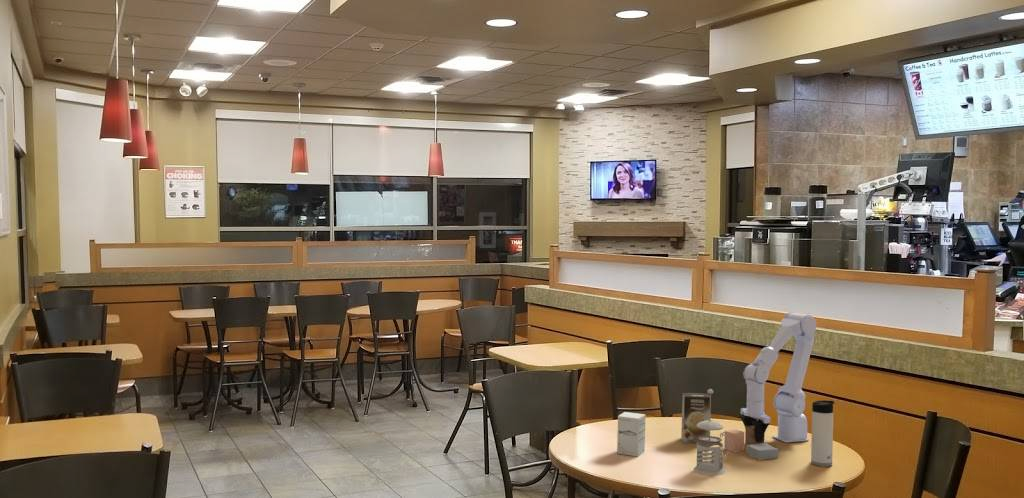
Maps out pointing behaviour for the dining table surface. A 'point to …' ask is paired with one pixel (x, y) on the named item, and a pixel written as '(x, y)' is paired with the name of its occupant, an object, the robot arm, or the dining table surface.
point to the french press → (710, 448)
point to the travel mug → (822, 433)
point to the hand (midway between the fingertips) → (754, 439)
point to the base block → (762, 451)
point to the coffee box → (694, 416)
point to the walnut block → (751, 436)
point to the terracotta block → (734, 440)
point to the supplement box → (631, 434)
